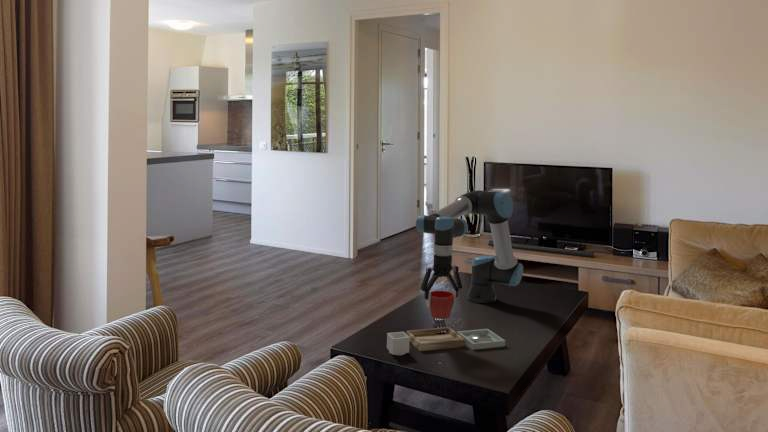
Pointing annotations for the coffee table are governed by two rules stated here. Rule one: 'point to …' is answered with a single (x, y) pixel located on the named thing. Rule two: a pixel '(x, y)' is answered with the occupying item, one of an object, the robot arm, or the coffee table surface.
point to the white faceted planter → (398, 343)
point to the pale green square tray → (494, 342)
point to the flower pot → (441, 304)
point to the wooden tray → (435, 339)
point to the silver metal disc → (480, 337)
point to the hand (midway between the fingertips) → (440, 305)
